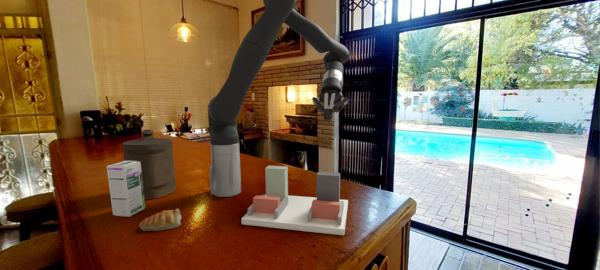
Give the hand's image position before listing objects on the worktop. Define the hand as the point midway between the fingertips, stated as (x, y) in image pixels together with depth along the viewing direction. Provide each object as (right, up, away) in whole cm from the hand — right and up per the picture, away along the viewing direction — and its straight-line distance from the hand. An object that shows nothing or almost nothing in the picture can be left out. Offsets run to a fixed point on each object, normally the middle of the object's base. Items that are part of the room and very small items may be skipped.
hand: (327, 119), depth 85 cm
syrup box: (-58, -27, -11) cm, 65 cm away
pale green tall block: (-16, -25, -7) cm, 30 cm away
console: (-9, -27, -13) cm, 32 cm away
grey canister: (-60, -25, +5) cm, 66 cm away
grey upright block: (-1, -25, -14) cm, 29 cm away
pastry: (-44, -29, -19) cm, 56 cm away
